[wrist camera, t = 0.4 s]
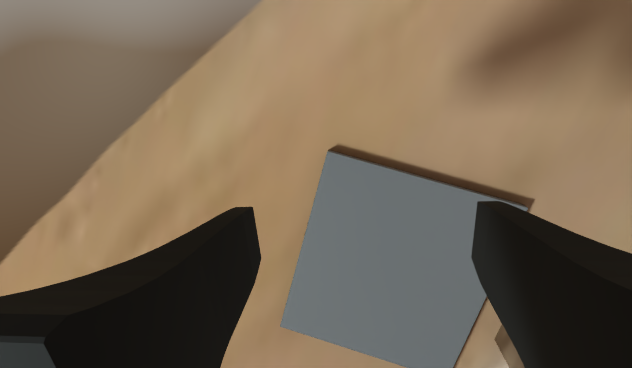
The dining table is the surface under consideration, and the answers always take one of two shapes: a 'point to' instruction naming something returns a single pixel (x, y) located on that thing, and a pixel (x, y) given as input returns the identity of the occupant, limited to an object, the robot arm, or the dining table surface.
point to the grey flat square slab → (388, 264)
